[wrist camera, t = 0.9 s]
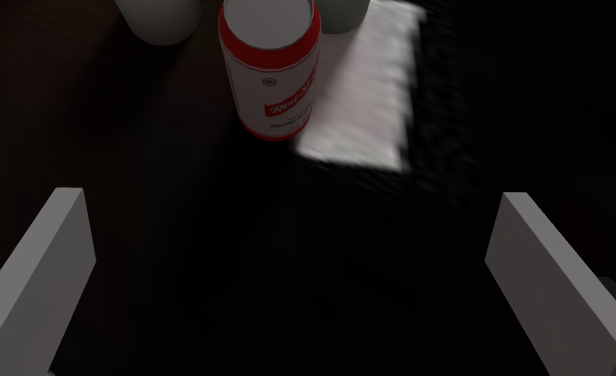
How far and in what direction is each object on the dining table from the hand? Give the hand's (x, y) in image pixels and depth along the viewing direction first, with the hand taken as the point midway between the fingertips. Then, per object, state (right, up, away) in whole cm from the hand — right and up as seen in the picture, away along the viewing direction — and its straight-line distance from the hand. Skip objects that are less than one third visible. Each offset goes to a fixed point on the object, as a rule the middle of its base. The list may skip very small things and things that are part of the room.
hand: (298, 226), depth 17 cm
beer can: (-3, +8, +29) cm, 30 cm away
